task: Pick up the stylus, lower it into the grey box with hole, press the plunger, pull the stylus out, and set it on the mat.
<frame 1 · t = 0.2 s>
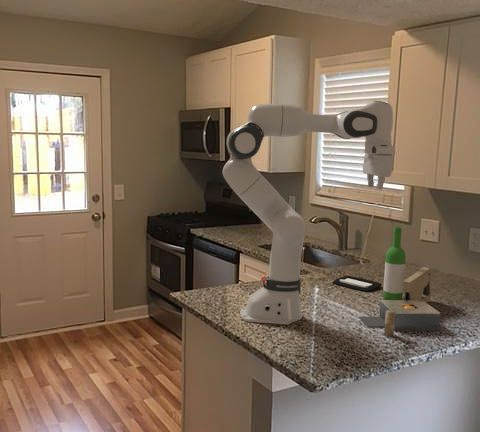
hand: (374, 188, 184), 47 cm above the worktop, fingers open, 8 cm apart
plunger: (409, 310, 185), point 5 cm above the worktop, slide at 0.0 cm
wine bottle: (392, 299, 214), on the worktop
stylus: (388, 334, 174), on the worktop
grey box with hole: (408, 323, 185), on the worktop
mat: (374, 322, 185), on the worktop
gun: (416, 307, 205), on the worktop
light switch: (356, 286, 233), on the worktop
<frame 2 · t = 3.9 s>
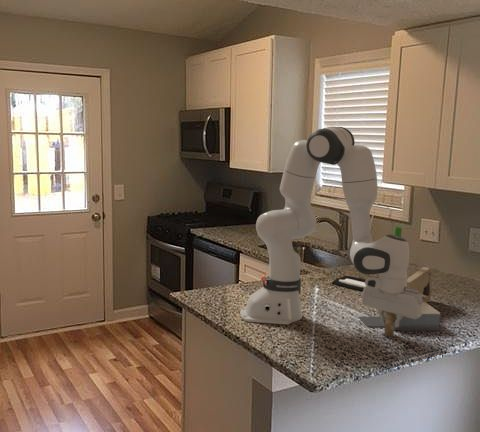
hand: (389, 324, 173), 4 cm above the worktop, fingers closed on stylus, 3 cm apart
stylus: (388, 334, 174), on the worktop, touching gripper
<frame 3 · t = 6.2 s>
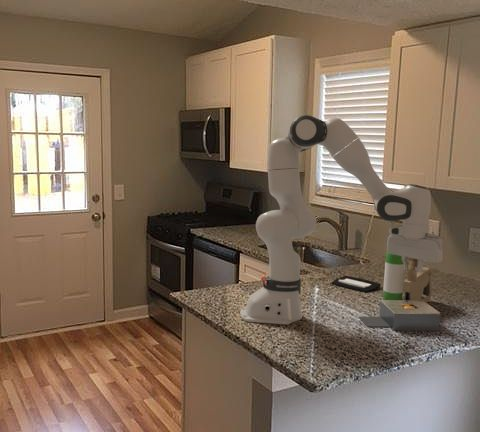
hand: (412, 270, 182), 19 cm above the worktop, fingers closed on stylus, 3 cm apart
stylus: (411, 280, 182), point 16 cm above the worktop, touching gripper
everything else where it was.
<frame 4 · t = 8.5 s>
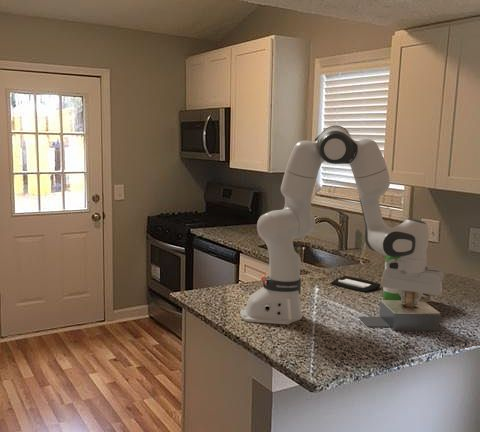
hand: (409, 303, 184), 8 cm above the worktop, fingers closed on stylus, 3 cm apart
plunger: (408, 315, 185), point 3 cm above the worktop, slide at 2.0 cm, touching stylus
stylus: (408, 312, 185), point 4 cm above the worktop, touching gripper, plunger
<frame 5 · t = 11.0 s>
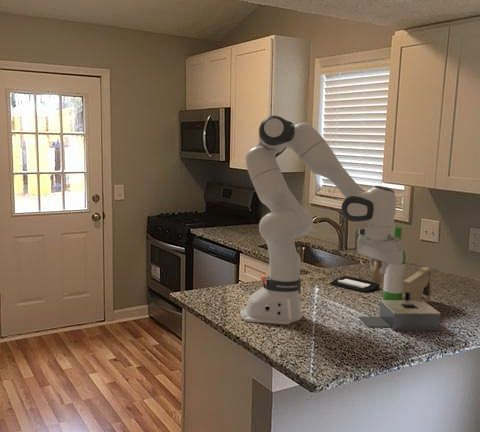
hand: (377, 272, 183), 18 cm above the worktop, fingers closed on stylus, 3 cm apart
plunger: (408, 315, 185), point 3 cm above the worktop, slide at 2.0 cm
stylus: (377, 281, 183), point 15 cm above the worktop, touching gripper
when the fingers open (4 cm above the worktop, at t = 13.3 s): stylus stays where it is, resting on mat.
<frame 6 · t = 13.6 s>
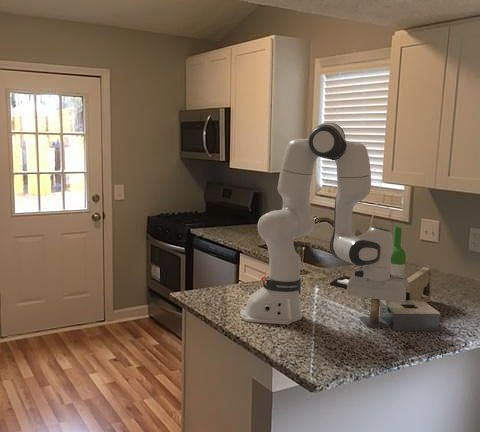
hand: (374, 310, 185), 4 cm above the worktop, fingers open, 5 cm apart
stylus: (374, 321, 185), resting on mat
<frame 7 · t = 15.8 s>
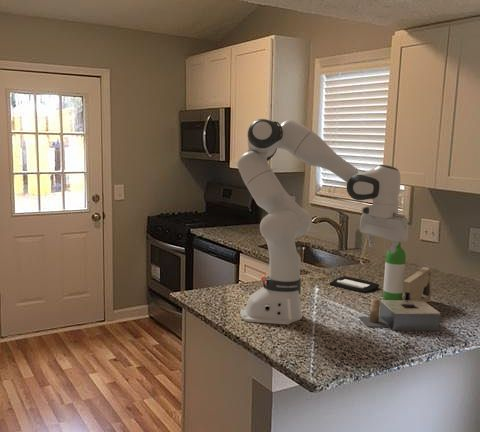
hand: (381, 249, 186), 26 cm above the worktop, fingers open, 8 cm apart
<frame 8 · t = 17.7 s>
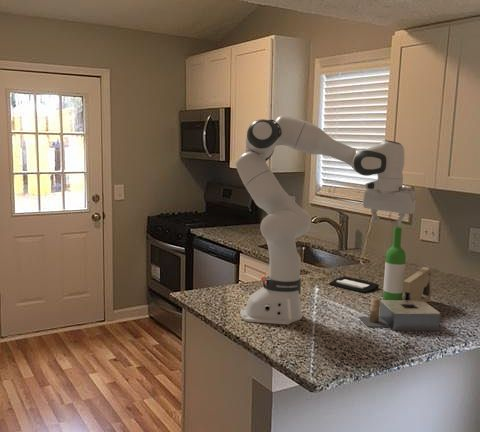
hand: (386, 223, 192), 34 cm above the worktop, fingers open, 8 cm apart
at the end: plunger slide at 2.0 cm; stylus inside the target area (0.1 cm from its centre), resting on mat; the gripper is holding nothing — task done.
